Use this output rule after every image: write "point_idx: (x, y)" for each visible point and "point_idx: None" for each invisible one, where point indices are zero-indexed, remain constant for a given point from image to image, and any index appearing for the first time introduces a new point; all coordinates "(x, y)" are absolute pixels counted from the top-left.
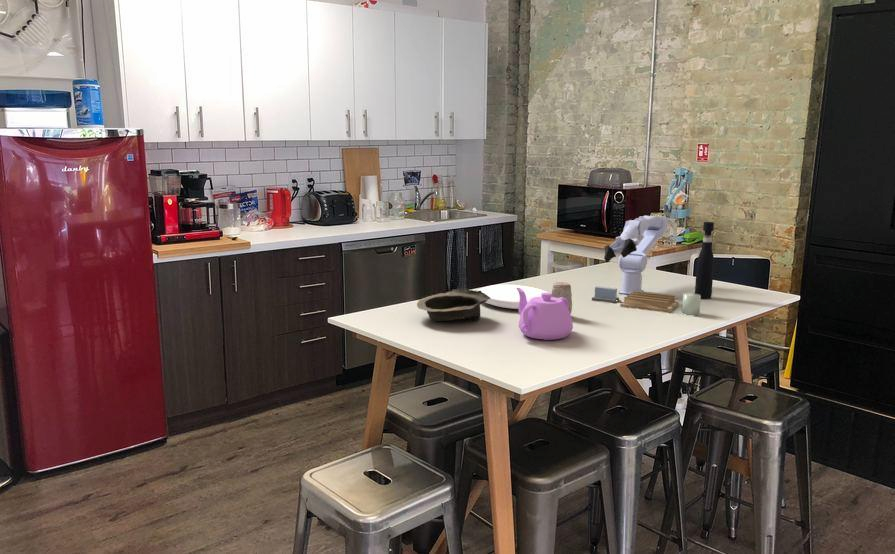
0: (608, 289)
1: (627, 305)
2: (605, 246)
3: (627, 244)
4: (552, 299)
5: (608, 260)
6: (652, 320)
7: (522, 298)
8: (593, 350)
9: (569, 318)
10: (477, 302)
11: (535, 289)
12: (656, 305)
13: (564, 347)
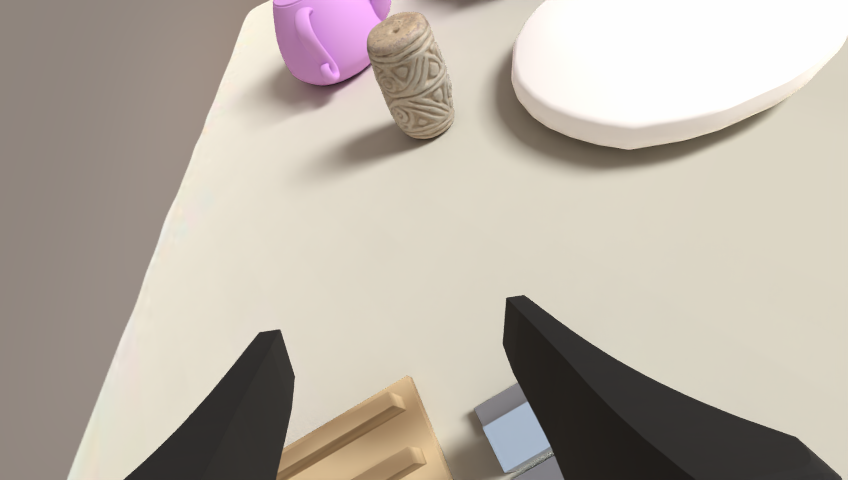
0: (523, 405)
1: (379, 393)
2: (798, 458)
3: (127, 477)
4: None
5: (513, 361)
6: (234, 325)
7: None
8: (246, 96)
9: (279, 47)
10: None
11: (652, 67)
12: None
13: (284, 68)
